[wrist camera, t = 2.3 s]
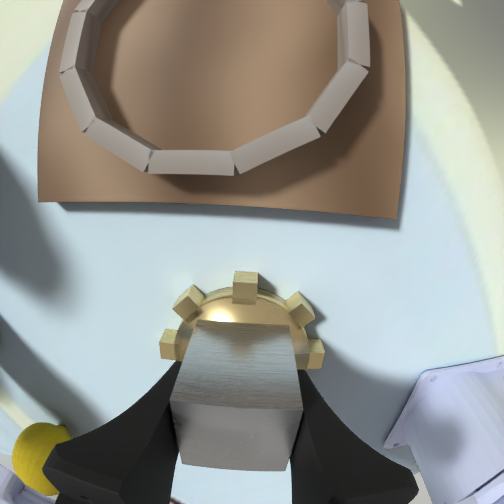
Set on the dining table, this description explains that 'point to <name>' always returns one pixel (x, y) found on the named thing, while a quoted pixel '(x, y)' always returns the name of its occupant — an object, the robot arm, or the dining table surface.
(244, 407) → the gear
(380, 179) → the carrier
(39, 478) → the lemon
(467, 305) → the dining table surface
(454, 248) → the dining table surface
